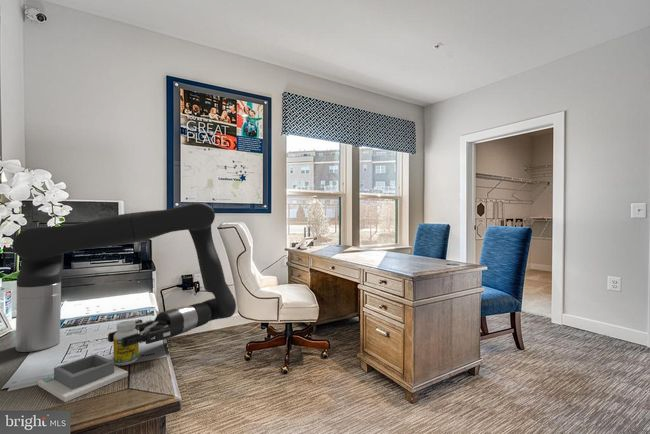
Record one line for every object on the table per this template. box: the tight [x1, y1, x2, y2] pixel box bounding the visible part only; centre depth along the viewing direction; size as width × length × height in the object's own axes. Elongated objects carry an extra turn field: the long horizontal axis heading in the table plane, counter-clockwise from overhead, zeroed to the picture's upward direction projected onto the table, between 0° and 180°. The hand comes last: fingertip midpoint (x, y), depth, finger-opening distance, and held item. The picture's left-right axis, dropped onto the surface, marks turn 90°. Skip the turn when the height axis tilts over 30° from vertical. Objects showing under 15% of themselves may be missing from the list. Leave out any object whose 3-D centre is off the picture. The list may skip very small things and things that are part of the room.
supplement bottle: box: [112, 320, 140, 366], centre depth 80 cm, size 5×5×10 cm
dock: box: [37, 353, 129, 403], centre depth 71 cm, size 12×12×4 cm
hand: (115, 340), depth 78 cm, fingers closed on supplement bottle, 5 cm apart
